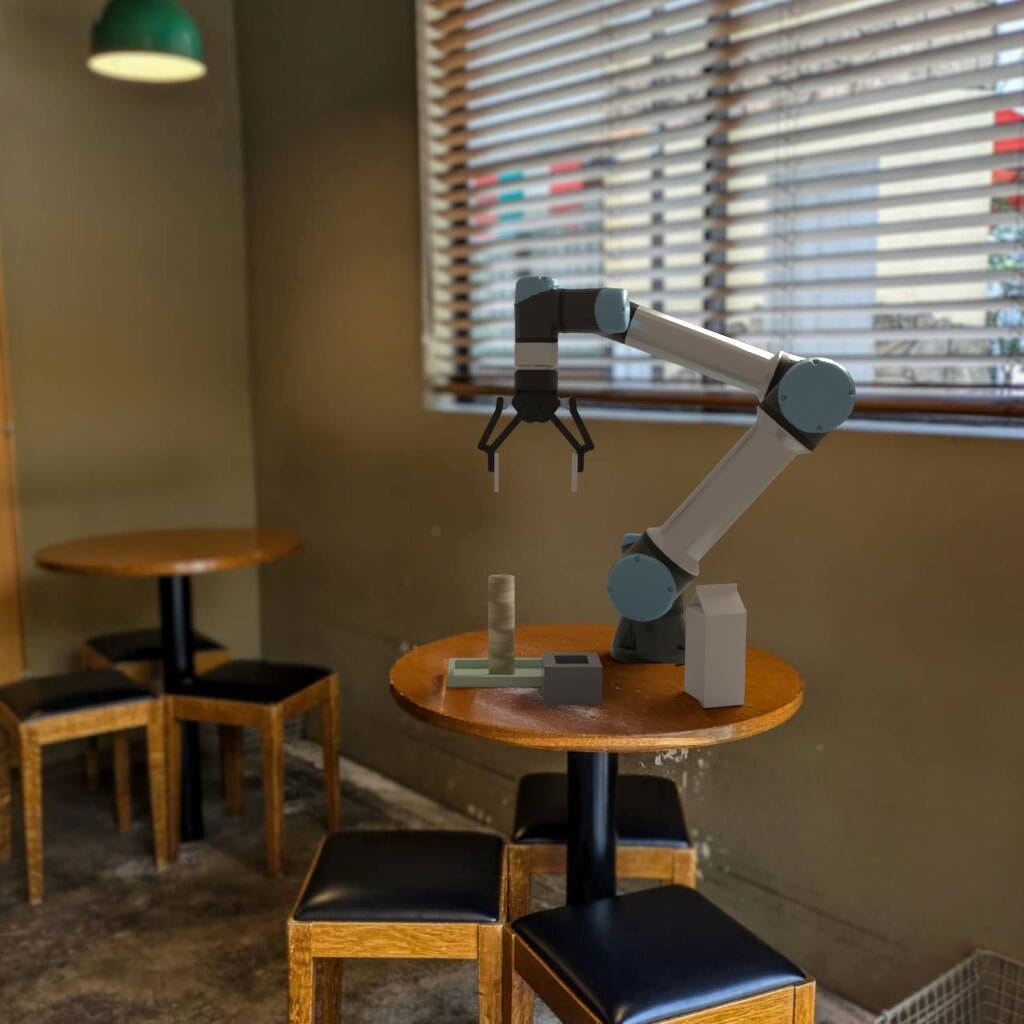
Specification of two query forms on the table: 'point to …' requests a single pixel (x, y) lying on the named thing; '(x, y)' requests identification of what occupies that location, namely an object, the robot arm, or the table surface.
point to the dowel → (501, 624)
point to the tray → (477, 675)
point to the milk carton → (715, 646)
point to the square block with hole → (571, 678)
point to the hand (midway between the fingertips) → (535, 491)
